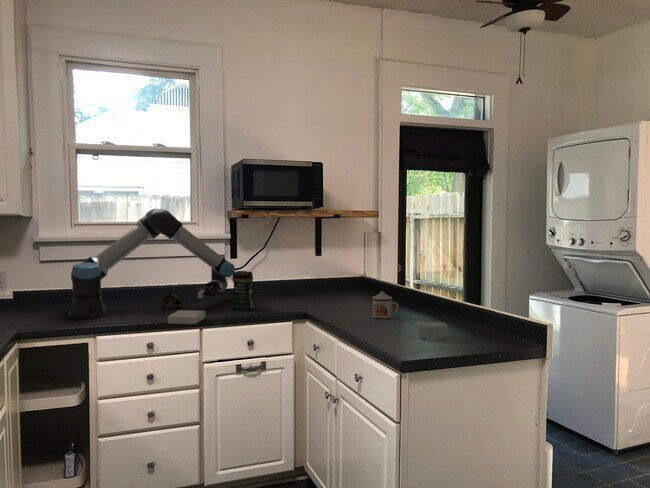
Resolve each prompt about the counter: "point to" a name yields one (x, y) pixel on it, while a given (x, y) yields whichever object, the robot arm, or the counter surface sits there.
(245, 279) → the coffee jar
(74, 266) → the robot arm
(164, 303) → the dark brown irregular piece
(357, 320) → the counter surface
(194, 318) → the picture frame
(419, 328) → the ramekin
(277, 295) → the counter surface
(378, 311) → the teacup with lid
